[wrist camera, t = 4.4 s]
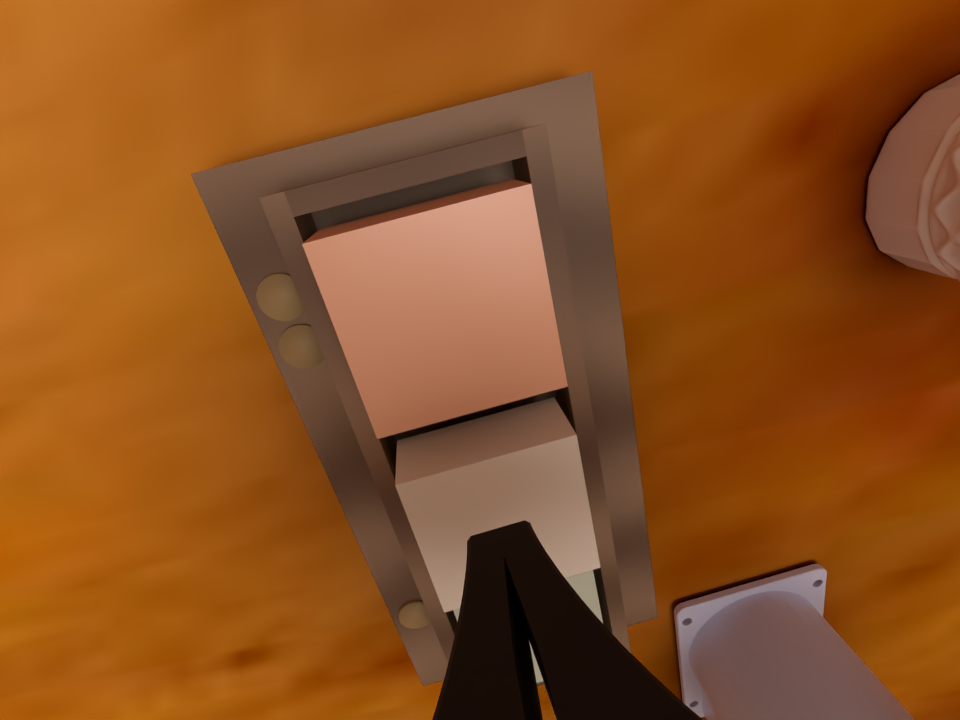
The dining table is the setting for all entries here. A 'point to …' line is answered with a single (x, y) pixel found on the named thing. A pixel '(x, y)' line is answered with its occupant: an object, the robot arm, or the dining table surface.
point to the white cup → (920, 185)
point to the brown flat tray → (585, 402)
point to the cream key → (496, 490)
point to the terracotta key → (442, 305)
